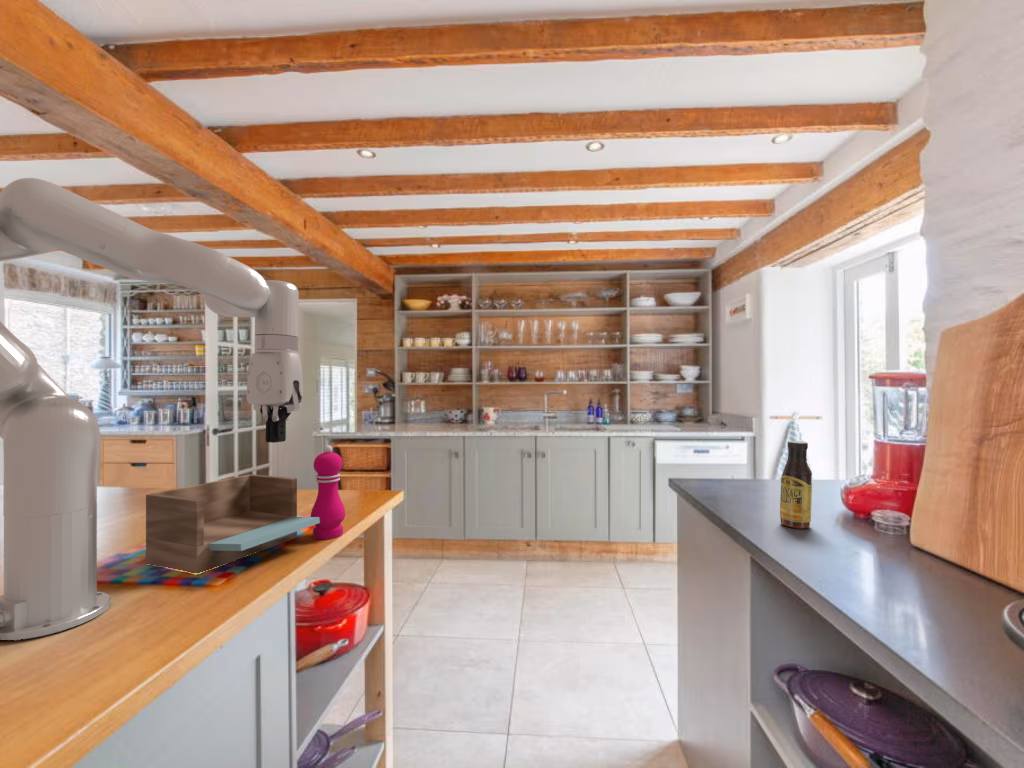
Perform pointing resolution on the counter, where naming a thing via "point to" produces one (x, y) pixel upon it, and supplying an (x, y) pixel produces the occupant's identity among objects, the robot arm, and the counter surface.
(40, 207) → the robot arm
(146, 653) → the counter surface
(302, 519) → the panel
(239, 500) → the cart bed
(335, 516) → the pepper mill
